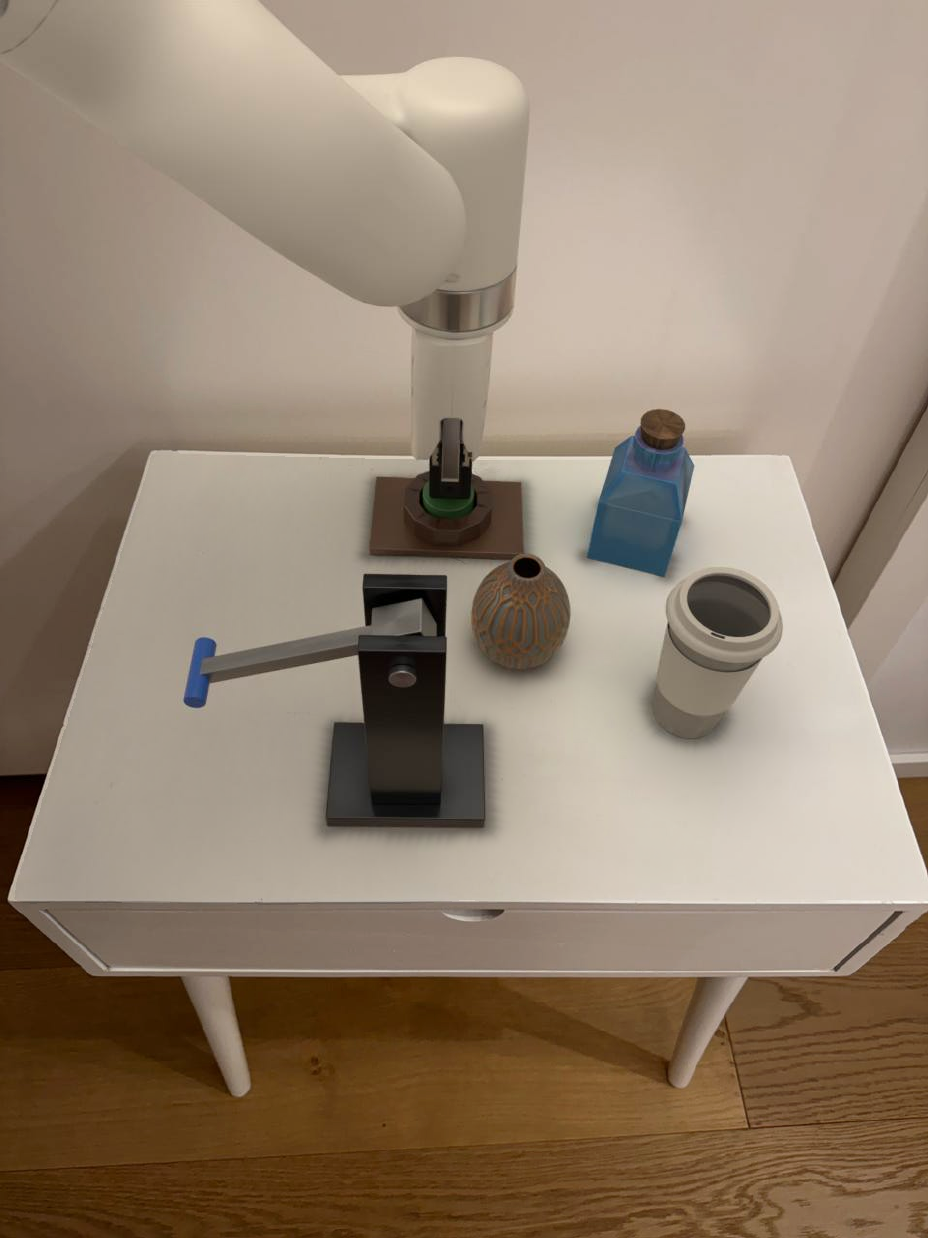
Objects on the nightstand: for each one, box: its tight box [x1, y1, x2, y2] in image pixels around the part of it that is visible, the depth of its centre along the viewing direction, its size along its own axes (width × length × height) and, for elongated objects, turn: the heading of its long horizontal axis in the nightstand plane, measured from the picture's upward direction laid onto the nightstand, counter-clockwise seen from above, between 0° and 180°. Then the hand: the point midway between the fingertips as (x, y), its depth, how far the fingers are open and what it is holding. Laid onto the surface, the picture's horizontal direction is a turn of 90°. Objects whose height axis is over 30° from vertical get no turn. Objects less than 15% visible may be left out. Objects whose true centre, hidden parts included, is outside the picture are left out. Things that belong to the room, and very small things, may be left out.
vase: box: [470, 553, 572, 670], centre depth 66 cm, size 7×7×9 cm
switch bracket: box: [325, 573, 486, 828], centre depth 56 cm, size 10×7×18 cm
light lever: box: [182, 598, 437, 709], centre depth 51 cm, size 14×4×2 cm, turn 91°
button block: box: [368, 470, 525, 560], centre depth 76 cm, size 12×8×2 cm, turn 89°
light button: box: [423, 481, 474, 519], centre depth 75 cm, size 4×4×2 cm
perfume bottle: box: [586, 408, 695, 578], centre depth 72 cm, size 6×6×12 cm
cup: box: [652, 566, 784, 739], centre depth 62 cm, size 7×7×12 cm
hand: (450, 491), depth 74 cm, fingers closed
